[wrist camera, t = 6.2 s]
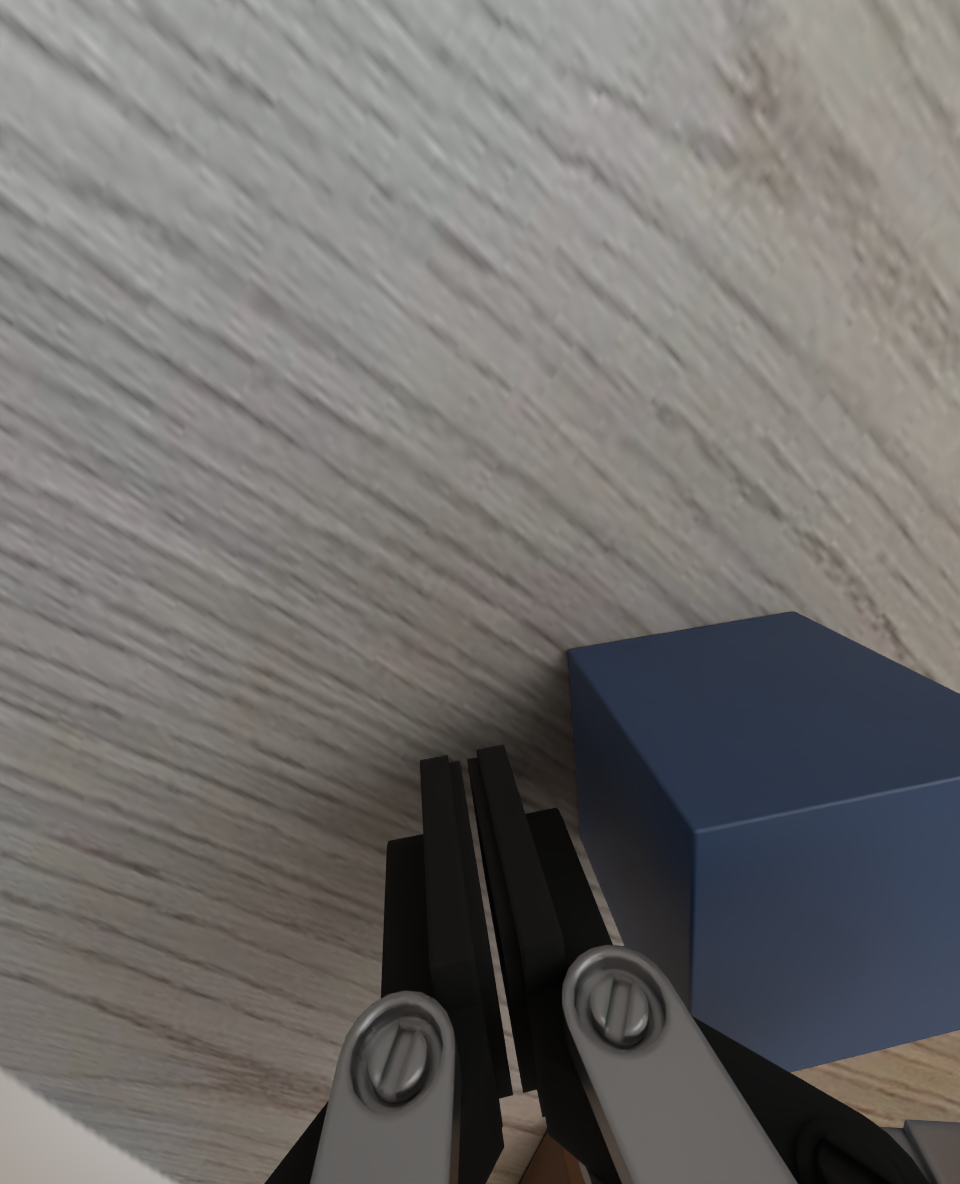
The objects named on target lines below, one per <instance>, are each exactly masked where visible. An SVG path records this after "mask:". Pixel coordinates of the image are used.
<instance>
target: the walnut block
mask: <svg viewBox="0 0 960 1184" xmlns="http://www.w3.org/2000/svg"><path fill="white" fill-rule="evenodd" d="M520 1184H585V1181H584V1178H583V1176H582V1173H581V1169H580V1165H579V1161H578V1160H577V1159H576V1158H575V1157H574V1156H573V1155H572V1154H570V1153H569V1152H568V1151H567V1150H566V1149H564V1148H563V1147H562V1146H561V1145H560V1144H559V1143H557V1142H556V1141H555V1140H554V1139H553V1138H552V1137H550V1136H549V1133H548V1131H547V1133H546V1135H545V1137H544V1139H543V1141H542V1143H541V1145H540V1147H539V1148H538V1150H537V1152H536V1154H535V1156H534V1158H533V1160H532V1162H531V1164H530V1166H529V1167H528V1169H527V1171H526V1173H525V1175H524V1177H523V1179H522V1181H521V1183H520Z"/></svg>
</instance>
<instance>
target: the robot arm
mask: <svg viewBox="0 0 960 1184" xmlns="http://www.w3.org/2000/svg"><path fill="white" fill-rule="evenodd" d="M467 763H468V770H469V776H470V783H471V789H472V796H473V803H474V809H475V816H476V823H477V829H478V836H479V842H480V849H481V856H482V862H483V869H484V875H485V881H486V886H487V892H488V898H489V903H490V909H491V915H492V920H493V926H494V931H495V937H496V943H497V948H498V954H499V960H500V965H501V971H502V976H503V982H504V988H505V993H506V999H507V1005H508V1010H509V1016H510V1022H511V1027H512V1033H513V1038H514V1044H515V1050H516V1055H517V1061H518V1067H519V1072H520V1078H521V1083H522V1089H523V1093H525V1092H529V1091H533V1090H537V1092H538V1097H539V1102H540V1107H541V1112H542V1117H545V1118H546V1123H547V1128H548V1133H549V1136H550V1137H552V1138H553V1139H554V1140H555V1141H556V1142H557V1143H559V1144H560V1145H561V1146H562V1147H563V1148H564V1149H566V1150H567V1151H568V1152H569V1153H570V1154H572V1155H573V1156H574V1157H575V1158H576V1159H577V1160H578V1161H579V1165H580V1169H581V1173H582V1176H583V1178H584V1181H585V1184H960V1123H958V1122H940V1121H922V1120H905V1123H904V1127H903V1128H890V1127H879V1126H877V1125H876V1124H875V1123H873V1122H872V1121H871V1120H869V1119H868V1118H866V1117H865V1116H864V1115H862V1114H860V1113H859V1112H857V1111H855V1110H853V1109H852V1108H850V1107H848V1106H847V1105H845V1104H843V1103H841V1102H840V1101H838V1100H836V1099H834V1098H833V1097H831V1096H829V1095H828V1094H826V1093H824V1092H822V1091H821V1090H819V1089H817V1088H815V1087H814V1086H812V1085H810V1084H809V1083H807V1082H805V1081H803V1080H802V1079H800V1078H798V1077H797V1076H795V1075H793V1074H791V1073H790V1072H788V1071H786V1070H784V1069H783V1068H781V1067H779V1066H778V1065H776V1064H774V1063H772V1062H771V1061H769V1060H767V1059H766V1058H764V1057H762V1056H760V1055H759V1054H757V1053H755V1052H753V1051H752V1050H750V1049H748V1048H747V1047H745V1046H743V1045H741V1044H740V1043H738V1042H736V1041H734V1040H733V1039H731V1038H729V1037H728V1036H726V1035H724V1034H722V1033H721V1032H719V1031H717V1030H716V1029H714V1028H712V1027H710V1026H709V1025H707V1024H705V1023H703V1022H702V1021H700V1020H698V1019H697V1018H695V1017H693V1016H691V1014H690V1013H689V1011H688V1010H687V1008H686V1006H685V1005H684V1003H683V1002H682V1000H681V998H680V997H679V995H678V994H677V992H676V991H675V989H674V987H673V986H672V984H671V983H670V981H669V980H668V978H667V977H666V976H665V975H664V973H663V972H662V971H661V970H660V969H659V967H658V966H657V965H656V964H655V963H654V962H652V961H651V960H650V959H648V958H647V957H646V956H644V955H643V954H641V953H640V952H637V951H635V950H632V949H630V948H627V947H624V946H616V945H613V944H612V942H611V939H610V936H609V934H608V931H607V929H606V926H605V924H604V921H603V919H602V916H601V914H600V911H599V909H598V906H597V904H596V901H595V899H594V896H593V894H592V891H591V889H590V886H589V884H588V881H587V879H586V876H585V874H584V871H583V869H582V866H581V864H580V861H579V858H578V856H577V853H576V851H575V848H574V846H573V843H572V841H571V838H570V836H569V833H568V831H567V828H566V826H565V823H564V821H563V818H562V816H561V814H560V812H559V810H558V809H557V808H552V809H547V810H542V811H537V812H532V813H527V814H525V811H524V808H523V805H522V802H521V798H520V795H519V792H518V789H517V785H516V782H515V779H514V776H513V772H512V769H511V766H510V763H509V759H508V756H507V753H506V750H505V747H504V745H499V746H494V747H489V748H483V749H478V750H477V758H472V759H467ZM420 774H421V795H422V817H423V834H421V835H416V836H411V837H406V838H401V839H396V840H391V841H388V844H387V857H386V883H385V908H384V933H383V958H382V983H381V999H380V1000H378V1001H376V1002H374V1003H373V1004H371V1005H370V1006H369V1007H368V1008H367V1009H366V1010H365V1011H364V1012H363V1013H362V1014H361V1015H360V1016H359V1017H358V1018H357V1020H356V1021H355V1023H354V1024H353V1026H352V1028H351V1029H350V1031H349V1032H348V1034H347V1035H346V1038H345V1041H344V1043H343V1046H342V1049H341V1052H340V1055H339V1058H338V1062H337V1067H336V1071H335V1076H334V1080H333V1084H332V1089H331V1093H330V1098H329V1101H328V1102H327V1103H326V1105H325V1106H324V1107H323V1109H322V1110H321V1111H320V1112H319V1114H318V1115H317V1116H316V1118H315V1119H314V1120H313V1122H312V1123H311V1124H310V1125H309V1127H308V1128H307V1129H306V1131H305V1132H304V1133H303V1134H302V1136H301V1137H300V1138H299V1140H298V1141H297V1142H296V1144H295V1145H294V1146H293V1147H292V1149H291V1150H290V1151H289V1153H288V1154H287V1155H286V1156H285V1158H284V1159H283V1160H282V1162H281V1163H280V1164H279V1166H278V1167H277V1168H276V1169H275V1171H274V1172H273V1173H272V1175H271V1176H270V1177H269V1178H268V1180H267V1181H266V1182H265V1184H486V1182H487V1180H488V1178H489V1176H490V1174H491V1172H492V1170H493V1168H494V1166H495V1164H496V1162H497V1160H498V1158H499V1156H500V1154H501V1152H502V1150H503V1148H504V1141H503V1134H502V1127H503V1125H502V1117H501V1110H500V1103H499V1098H503V1097H507V1096H511V1095H513V1091H512V1085H511V1079H510V1072H509V1066H508V1059H507V1053H506V1046H505V1040H504V1034H503V1027H502V1021H501V1014H500V1008H499V1002H498V995H497V989H496V982H495V976H494V970H493V963H492V957H491V951H490V944H489V938H488V932H487V926H486V920H485V913H484V907H483V901H482V895H481V889H480V883H479V877H478V870H477V864H476V858H475V852H474V846H473V840H472V833H471V827H470V821H469V815H468V809H467V803H466V796H465V790H464V784H463V778H462V772H461V766H460V761H455V762H450V763H449V759H448V755H445V756H440V757H434V758H429V759H424V760H420Z"/></svg>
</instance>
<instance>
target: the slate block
mask: <svg viewBox="0 0 960 1184" xmlns="http://www.w3.org/2000/svg"><path fill="white" fill-rule="evenodd" d="M568 663H569V678H570V692H571V707H572V722H573V736H574V751H575V765H576V780H577V794H578V809H579V823H580V838H581V841H582V844H583V846H584V848H585V851H586V853H587V856H588V858H589V861H590V863H591V865H592V868H593V870H594V873H595V875H596V878H597V880H598V882H599V885H600V887H601V890H602V892H603V895H604V897H605V899H606V902H607V904H608V907H609V909H610V912H611V914H612V916H613V919H614V921H615V924H616V926H617V929H618V931H619V933H620V936H621V938H622V941H623V943H624V946H625V947H627V948H630V949H632V950H635V951H637V952H640V953H641V954H643V955H644V956H646V957H647V958H648V959H650V960H651V961H652V962H654V963H655V964H656V965H657V966H658V967H659V969H660V970H661V971H662V972H663V973H664V975H665V976H666V977H667V978H668V980H669V981H670V983H671V984H672V986H673V987H674V989H675V991H676V992H677V994H678V995H679V997H680V998H681V1000H682V1002H683V1003H684V1005H685V1006H686V1008H687V1010H688V1011H689V1013H690V1014H691V1016H693V1017H695V1018H697V1019H698V1020H700V1021H702V1022H703V1023H705V1024H707V1025H709V1026H710V1027H712V1028H714V1029H716V1030H717V1031H719V1032H721V1033H722V1034H724V1035H726V1036H728V1037H729V1038H731V1039H733V1040H734V1041H736V1042H738V1043H740V1044H741V1045H743V1046H745V1047H747V1048H748V1049H750V1050H752V1051H753V1052H755V1053H757V1054H759V1055H760V1056H762V1057H764V1058H766V1059H767V1060H769V1061H771V1062H772V1063H774V1064H776V1065H778V1066H779V1067H781V1068H783V1069H784V1070H786V1071H788V1072H794V1071H798V1070H802V1069H806V1068H810V1067H814V1066H818V1065H822V1064H826V1063H830V1062H834V1061H838V1060H842V1059H846V1058H850V1057H854V1056H858V1055H862V1054H866V1053H870V1052H874V1051H878V1050H882V1049H886V1048H890V1047H894V1046H897V1045H901V1044H905V1043H909V1042H913V1041H917V1040H921V1039H925V1038H929V1037H933V1036H937V1035H941V1034H945V1033H949V1032H953V1031H957V1030H960V694H959V693H957V692H955V691H953V690H951V689H949V688H947V687H945V686H943V685H941V684H939V683H937V682H935V681H933V680H931V679H929V678H927V677H925V676H923V675H921V674H919V673H917V672H915V671H913V670H911V669H909V668H907V667H905V666H903V665H901V664H899V663H897V662H895V661H893V660H891V659H889V658H887V657H885V656H883V655H881V654H879V653H877V652H875V651H873V650H871V649H869V648H867V647H865V646H863V645H861V644H859V643H857V642H855V641H853V640H851V639H849V638H847V637H845V636H843V635H841V634H839V633H837V632H835V631H833V630H831V629H829V628H827V627H825V626H823V625H821V624H819V623H817V622H815V621H813V620H811V619H809V618H807V617H805V616H803V615H801V614H799V613H797V612H787V613H781V614H776V615H770V616H764V617H758V618H752V619H746V620H740V621H734V622H728V623H722V624H716V625H710V626H705V627H699V628H693V629H687V630H681V631H675V632H669V633H663V634H657V635H651V636H645V637H640V638H634V639H628V640H622V641H616V642H610V643H604V644H598V645H592V646H586V647H580V648H575V649H569V650H568Z"/></svg>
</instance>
